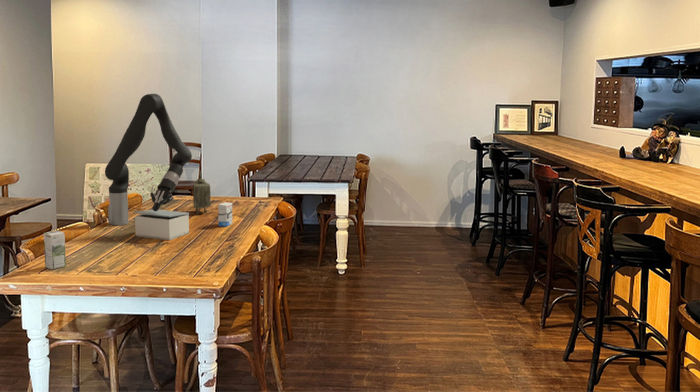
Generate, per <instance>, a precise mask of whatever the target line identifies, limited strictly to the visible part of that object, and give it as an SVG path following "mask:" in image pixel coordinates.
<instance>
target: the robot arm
mask: <svg viewBox="0 0 700 392" xmlns="http://www.w3.org/2000/svg"><path fill="white" fill-rule="evenodd" d="M152 114H154V115H155V117H156V119H157V120H158V124H159V126H160V132H161V134H162V137H163V139H164V141H165V142H166V144H167V146H168V148H169V149H171V150H174V151H176V153H175V154H174V155H173V157H172V159H171V161H170V164H169V165H170V166H169V167H168V169H167V170H166V173H165V174H164V175H163V177H162V179H161V181H160V182H159V184H158V189H156V191H154V192H151V193H150V197H151V202H152V203H153V205H152V208H151V210H153V211H157V210H160V207H162V205H163V206H166V204H169V202H171V201H173V200H174V199H175V198H174V195H173V193H174V191H175V189H176V186H178V183H179V181H180V178H181V177H182V174H183V172H184V166H185V164H187V163H189V162H190V161H191V160H192V157H193V155H192V152H191V150H190V148H188V146H187V145H186V144H185V143H184V142H183V141H182V140H181V137H180V136H179V134H178V131H176V129H175V127H174V125H173V122H172V120H171V119H170V116H169V113H168V111H167V108H166V105H165V103H164V101H163V98H162V97H161V96H160V94H157V93H147V94H145V95H142V97H141V98H140V100H139V103H138V105H137V108H136V110H135V114H134V116H132V119H131V121H130V123H129V125H128V127H127V128H126V130H125V132H124V133H123V136H122V138H121V141H120V143H119V145H118V146H117V148H116V151H115V152H114V154H113V156H112V157H111V159H110V160H109V162H108V163H107V165H106V166H105V168H104V175H105V177H106V179H108V180H109V181H112V183H111V184H110V185H109V186H108V201H109V205H108V206H107V212H108V213H107V214H108V216H107V217H108V224H109V225H113V226H124V225H128V224H129V199H128V188H129V182H130V177H129V176H130V175H129V174H130V173H129V167H128V165H127V164H126V162H127V161H128V159H129V158H130V157H131V156H133V155H134V153H135V152H136V151H137V150H138V149H139V148H140V146H141V144H142V142H143V140H144V138H145V136H146V129H147V124H148V122H149V120H150V117H152Z"/></svg>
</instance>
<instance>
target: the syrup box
mask: <svg viewBox="0 0 700 392" xmlns="http://www.w3.org/2000/svg"><path fill="white" fill-rule="evenodd" d="M65 235H66V234H65V232H63V231H61V230H53V231H47V232H43V250H44V251H43V252H44V263H45V264H44V267H45V268H47V269H50V270H56V269H60V268H62V269H63V268H65V267H67V265H66V263H67V262H66V259H67V258H66V239H65V237H66V236H65Z"/></svg>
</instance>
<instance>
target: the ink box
mask: <svg viewBox="0 0 700 392" xmlns="http://www.w3.org/2000/svg"><path fill="white" fill-rule="evenodd" d="M217 206H218V207H217V209H218V212H217V213H218V217H217V219H218V227H223V228H225V227H228V226H231V225H233V202H225V201H224V202H222V203H218V205H217Z"/></svg>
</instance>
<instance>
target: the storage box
mask: <svg viewBox="0 0 700 392" xmlns="http://www.w3.org/2000/svg"><path fill="white" fill-rule="evenodd" d="M189 215H190V213H189V214H186V215H180V216H173V217H164V216H155V215H146V214H138V215H135V216H134V223H135V225H134V226H135V227H134V228H135V237H139V238H146V239H148V238H149V239H155V240H163V241H171V240H175V239H178V238H180V237H183V236H186V235H188V234H190V221H189V219H190V216H189Z"/></svg>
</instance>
